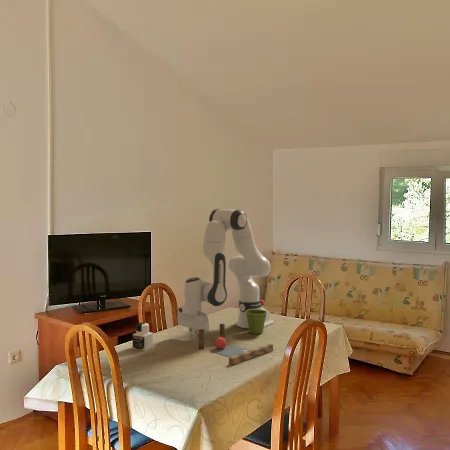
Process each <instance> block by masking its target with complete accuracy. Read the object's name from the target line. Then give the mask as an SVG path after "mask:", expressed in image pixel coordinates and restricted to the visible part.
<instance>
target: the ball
mask: <svg viewBox="0 0 450 450" xmlns="http://www.w3.org/2000/svg"><path fill="white" fill-rule="evenodd" d="M214 346H215V348H216V349H223V348H225V347H226V346H227V340H226V338H225V339H224V338H223V337H220V336H219V337H217V338H216V339H215V340H214Z"/></svg>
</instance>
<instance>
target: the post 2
mask: <svg viewBox="0 0 450 450" xmlns="http://www.w3.org/2000/svg"><path fill="white" fill-rule="evenodd" d="M225 324H226V323H219V337H223V338H224V339H225V340H226V337H225V336H226V331H225V330H226V326H225Z"/></svg>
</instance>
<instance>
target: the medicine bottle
mask: <svg viewBox="0 0 450 450" xmlns="http://www.w3.org/2000/svg"><path fill="white" fill-rule="evenodd" d="M135 326H136V327H135V331H136V332H135V333H133V334H132V349H133V350H139V351H143V352H145V351H147V350H149V349H151V348H153V347H154V332H150V324H149V323H147V322H138V323H136V325H135Z"/></svg>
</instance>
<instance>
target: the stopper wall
mask: <svg viewBox="0 0 450 450" xmlns="http://www.w3.org/2000/svg"><path fill="white" fill-rule="evenodd" d="M249 350H250V351H247V352H244V353H241V354H238V355H235V356H232V357H228V365H230V366H235V365H238V364H240V363H243V362H246V361H249V360H251V358H252V359H254V358H257V357H259V355H260V356H262V355H261V354H263V355H265V354H268V353H271V352H273V351H274V344H273V343H268V344H265V345H261V346H259V347H256V348H253V349H249ZM270 351H271V352H270ZM256 356H257V357H256ZM253 357H254V358H253ZM248 359H249V360H248ZM245 360H246V361H245ZM237 363H238V364H237Z"/></svg>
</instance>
